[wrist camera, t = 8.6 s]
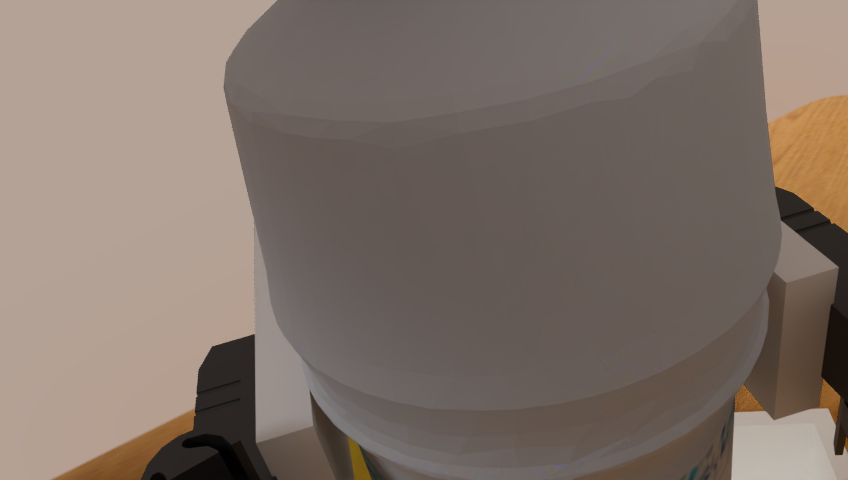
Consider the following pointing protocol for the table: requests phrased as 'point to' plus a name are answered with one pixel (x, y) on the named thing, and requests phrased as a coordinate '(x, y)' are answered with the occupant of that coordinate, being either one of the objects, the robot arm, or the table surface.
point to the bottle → (515, 227)
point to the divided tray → (786, 447)
